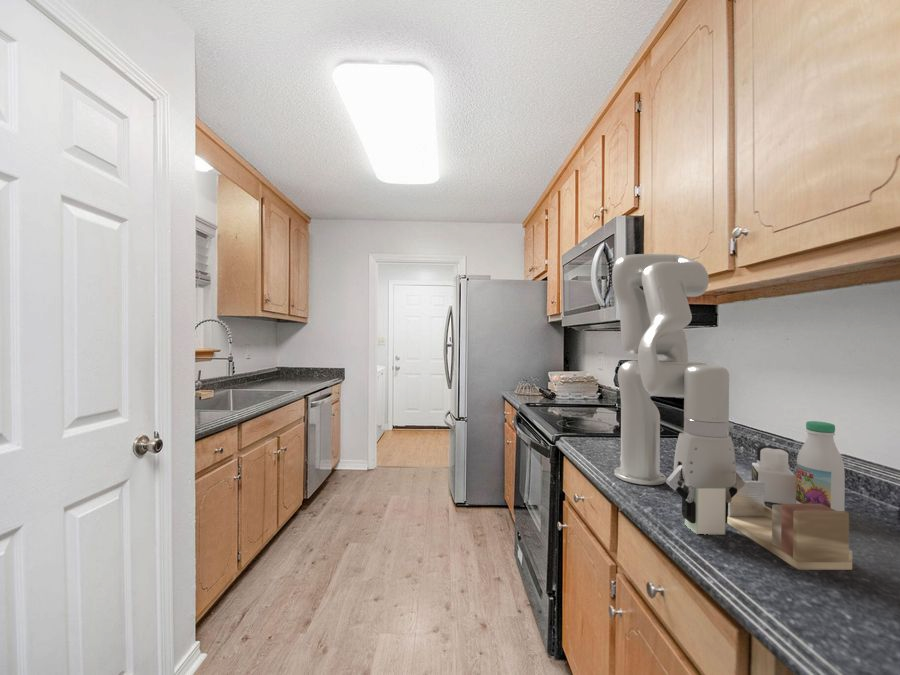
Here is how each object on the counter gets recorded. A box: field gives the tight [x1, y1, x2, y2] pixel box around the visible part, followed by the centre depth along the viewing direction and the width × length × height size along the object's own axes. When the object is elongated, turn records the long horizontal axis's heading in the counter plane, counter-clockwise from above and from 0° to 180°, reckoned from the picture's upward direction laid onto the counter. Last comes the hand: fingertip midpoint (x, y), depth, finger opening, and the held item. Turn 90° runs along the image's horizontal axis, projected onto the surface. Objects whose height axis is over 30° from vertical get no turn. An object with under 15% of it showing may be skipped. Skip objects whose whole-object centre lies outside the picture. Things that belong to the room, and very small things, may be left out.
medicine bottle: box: [751, 445, 796, 505], centre depth 98 cm, size 7×7×12 cm
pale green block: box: [684, 487, 726, 536], centre depth 81 cm, size 4×6×9 cm
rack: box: [726, 503, 853, 571], centre depth 80 cm, size 24×9×9 cm, turn 1°
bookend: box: [728, 480, 766, 517], centre depth 87 cm, size 5×7×7 cm
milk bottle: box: [795, 420, 846, 511], centre depth 88 cm, size 8×8×20 cm
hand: (704, 519), depth 81 cm, fingers closed on pale green block, 5 cm apart
